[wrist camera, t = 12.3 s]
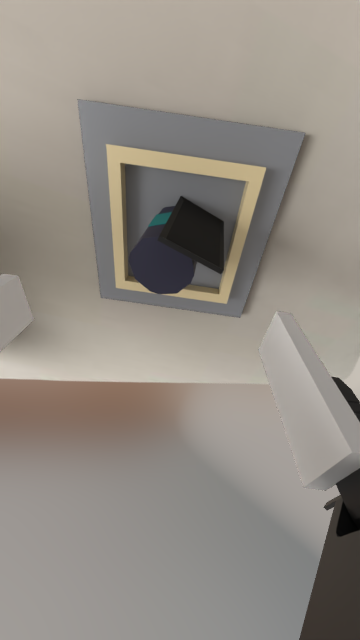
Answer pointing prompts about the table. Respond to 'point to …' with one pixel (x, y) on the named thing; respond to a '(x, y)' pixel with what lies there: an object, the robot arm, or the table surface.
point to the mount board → (182, 194)
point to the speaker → (177, 247)
